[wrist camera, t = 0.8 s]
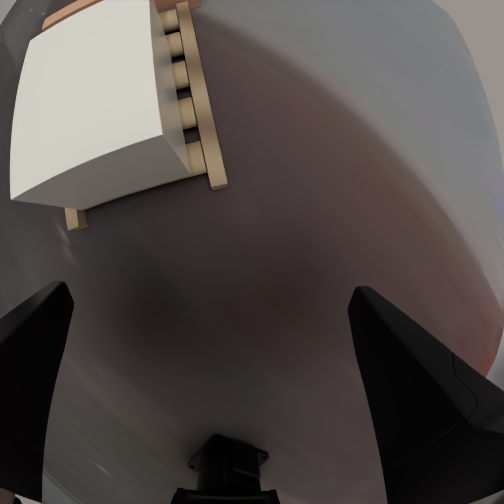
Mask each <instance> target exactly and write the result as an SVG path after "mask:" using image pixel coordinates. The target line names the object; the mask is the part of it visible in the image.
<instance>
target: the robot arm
mask: <svg viewBox="0 0 504 504" xmlns="http://www.w3.org/2000/svg"><path fill="white" fill-rule="evenodd" d="M73 309H74V301H73V298H72V296H71V294H70V292H69V289H68V287H67V285H66V283H65V282H63V281H53V282H51V283H50V284H48V285H47V286H46V287H44V288H43V289H41V290H40V291H38V292H37V293H35V294H34V295H32V296H31V297H30V298H28V299H27V300H25V301H24V302H23V303H21V304H20V305H19V306H17V307H16V308H14V309H13V310H12V311H10V312H9V313H8V314H6V315H5V316H4V317H2V318H1V319H0V504H22V503H21V501H20V499H18V498H17V497H15V494H17V495H20V496H22V497H25V498H28V499H31V500H34V501H37V502H40V503H41V502H42V473H43V458H44V446H45V438H46V430H47V424H48V417H49V412H50V406H51V401H52V396H53V391H54V387H55V383H56V378H57V374H58V370H59V367H60V363H61V359H62V356H63V352H64V348H65V344H66V339H67V335H68V330H69V325H70V321H71V317H72V313H73ZM348 316H349V321H350V326H351V332H352V337H353V343H354V349H355V354H356V358H357V362H358V366H359V370H360V373H361V377H362V381H363V384H364V388H365V392H366V396H367V400H368V404H369V408H370V412H371V417H372V421H373V425H374V430H375V434H376V439H377V444H378V449H379V454H380V459H381V464H382V470H383V476H384V482H385V488H386V495H387V502H388V504H504V391H503V390H501V389H500V388H499V387H497V386H496V385H494V384H493V383H492V382H491V381H489V380H487V379H486V378H485V377H484V376H482V375H481V374H480V373H478V372H477V371H476V370H474V369H473V368H472V367H471V366H469V365H468V364H467V363H466V362H464V361H463V360H462V359H461V358H460V357H458V356H457V355H456V354H455V353H454V352H451V350H450V349H449V348H447V347H446V346H445V345H444V344H443V343H441V342H440V341H439V340H438V339H436V338H435V337H434V336H433V335H431V334H430V333H429V332H428V331H426V330H425V329H424V328H423V327H421V326H420V325H419V324H418V323H416V322H415V321H414V320H413V319H411V318H410V317H409V316H407V315H406V314H405V313H404V312H402V311H401V310H400V309H398V308H397V307H396V306H395V305H393V304H392V303H391V302H389V301H388V300H387V299H385V298H384V297H383V296H381V295H380V294H379V293H377V292H376V291H375V290H373V289H372V288H371V287H369V286H358V287H356V288H355V290H354V292H353V295H352V298H351V300H350V303H349V306H348ZM216 439H218V440H216ZM263 456H264V457H263ZM268 458H269V454H268V453H267V452H264V451H260V450H257V449H254V448H252V447H249V446H246V445H243V444H240V443H238V442H235V441H232V440H230V439H227V438H225V437H222V436H220V435H213V436H212V437H211V438H210V439H209V440H208V441H207V443H206V444H205V445H204V446H203V447H202V448H201V449H200V451H199V452H198V453H197V454H196V455H195V456H194V457H193V458H192V459H191V461H190V462H189V463H188V467H189V468H190V469H192V470H195V471H197V472H199V473H198V482H197V490H187V489H184V488H177V491H176V493H174V496H173V499H172V501H171V504H280V502H279V498H278V495H277V492H276V489H273V490H269V491H261V486H260V477H261V476H260V468H259V467H260V466H261V465H262V464H263V463H264V462H265V461H266V460H267V459H268ZM192 465H193V466H192Z"/></svg>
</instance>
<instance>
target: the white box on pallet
mask: <svg viewBox="0 0 504 504" xmlns="http://www.w3.org/2000/svg"><path fill="white" fill-rule="evenodd" d="M187 176H191V170H190V165H189V160H188V155H187V150H186V145H185V140H184V134H183V129H182V123H181V118H180V112H179V106H178V100H177V94H176V88H175V81H174V75H173V68H172V62H171V54H170V48H169V45H168V42H167V39H166V36H165V33H164V30H163V27H162V24H161V21H160V17H159V14H158V11H157V8H156V5H155V2H154V0H104V1H101V2H99V3H97V4H95V5H92V6H90V7H88V8H86V9H84V10H82V11H80V12H78V13H76V14H74V15H72V16H70V17H68V18H67V19H65V20H63V21H61V22H59V23H58V24H56V25H54V26H53V27H51V28H49V29H48V30H46V31H45V32H43V33H41V34H40V35H38V36H37V37H35V38H34V39H32V40H31V41H30V43H29V46H28V50H27V53H26V57H25V60H24V64H23V68H22V72H21V77H20V81H19V86H18V92H17V97H16V103H15V110H14V117H13V126H12V137H11V154H10V191H11V200H16V201H23V202H30V203H37V204H44V205H51V206H58V207H64V208H71V209H77V210H83V209H85V208H88V207H91V206H94V205H96V204H99V203H102V202H105V201H108V200H111V199H113V198H116V197H119V196H122V195H125V194H129V193H132V192H135V191H138V190H141V189H144V188H148V187H151V186H154V185H158V184H161V183H165V182H168V181H172V180H176V179H179V178H183V177H187Z"/></svg>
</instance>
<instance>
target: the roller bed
mask: <svg viewBox="0 0 504 504" xmlns="http://www.w3.org/2000/svg"><path fill="white" fill-rule="evenodd" d="M176 6H177V12H178V16H177V12H176V9H172V10H169V11H165V12H161V13H158V14H159V17H160V21H161V24H162V27H163V30H164V33H166V32H170V31H174V30H178V29H180V31H181V36H180V32H176V33H173V34H169V35H165V36H166V39H167V42H168V45H169V48H170V54H171V58H173V57H177V56H181V55H184V54H185V59H186V64H185V61H181V62H177V63H174V64H172V68H173V75H174V81H175V88H176V90H179V89H183V88H187V87H190V86H191V92H192V97H193V101H192V98H191V97H189V98H185V99H181V100H178V106H179V112H180V118H181V123H182V129H183V130H184V129H188V128H192V127H196V126H198V127H199V132H200V137H201V142H202V146H201V142H200V141H197V142H193V143H189V144H185V145H186V150H187V155H188V160H189V165H190V170H191V176H187V177H183V178H179V179H176V180H172V181H168V182H165V183H161V184H158V185H154V186H151V187H148V188H144V189H141V190H138V191H135V192H132V193H129V194H133V193H136V192H139V191H142V190H146V189H149V188H152V187H156V186H159V185H162V184H166V183H170V182H173V181H177V180H180V179H184V178H188V177H192V176H196V175H200V174H204V173H207V170H208V175H209V179H210V184H211V188H212V190H213V191H214V190H218V189H222V188H227V187H228V183H227V178H226V174H225V170H224V165H223V161H222V156H221V152H220V147H219V143H218V139H217V134H216V130H215V125H214V121H213V116H212V112H211V107H210V103H209V98H208V94H207V89H206V84H205V80H204V75H203V71H202V66H201V61H200V57H199V52H198V47H197V43H196V38H195V33H194V29H193V24H192V19H191V14H190V10H189V5H188V1H186V2H182V3H177V4H176ZM178 19H179V21H178ZM179 25H180V27H179ZM181 37H182V40H181ZM182 42H183V45H182ZM183 48H184V50H183ZM186 65H187V69H186ZM187 70H188V73H187ZM188 76H189V78H188ZM189 81H190V83H189ZM193 102H194V105H193ZM194 107H195V110H194ZM195 112H196V114H195ZM196 117H197V119H196ZM197 122H198V125H197ZM202 147H203V150H202ZM203 151H204V154H203ZM204 156H205V158H204ZM205 161H206V163H205ZM206 166H207V168H206ZM129 194H125V195H122V196H119V197H116V198H113V199H111V200H114V199H117V198H120V197H123V196H126V195H129ZM111 200H108V201H111ZM108 201H105V202H102V203H99V204H96V205H94V206H97V205H100V204H103V203H106V202H108ZM94 206H91V207H94ZM91 207H88V208H85V209H83V210H77V209H71V208H65V214H66V221H67V227H68V230H73V231H78V230H81V229H84V228H86V227H88V223H87V217H86V211H85V210H86V209H89V208H91Z"/></svg>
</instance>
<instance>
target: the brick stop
mask: <svg viewBox="0 0 504 504" xmlns="http://www.w3.org/2000/svg"><path fill="white" fill-rule="evenodd" d="M101 1H104V0H78V1H76V2H74V3H72V4H70V5H69V6H67V7H65V8H63V9H61V10H60V11H58V12H56V13H54V14H53V15H51V16H49V17H48V18H46V19H45V22H44V25H43V28H42V30H43V31H44V32H45V31H46V30H48V29H49V28H51V27H53V26H54V25H56V24H58V23H59V22H61V21H63V20H65V19H67V18H68V17H70V16H72V15H74V14H76V13H78V12H80V11H82V10H84V9H86V8H88V7H90V6H92V5H95V4H97V3H99V2H101ZM186 1H188V5H189V9H193V8H198V7H200V1H199V0H154V2H155V5H156V8H157V11H158V13H161V12H165V11H169V10H172V9H176V12H177V6H176V4H177V3H182V2H186Z"/></svg>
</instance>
